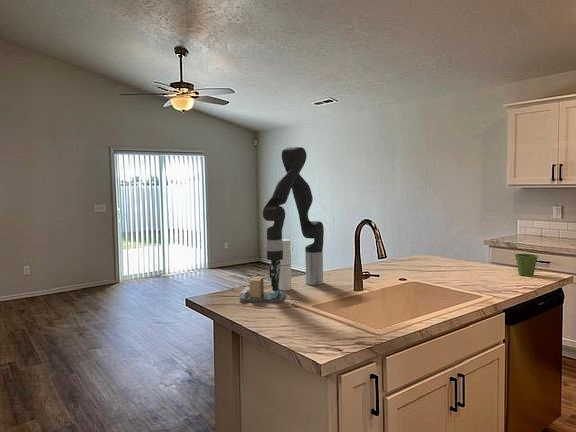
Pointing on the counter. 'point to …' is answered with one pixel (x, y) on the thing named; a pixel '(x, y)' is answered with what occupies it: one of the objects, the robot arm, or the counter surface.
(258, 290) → the block
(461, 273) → the counter surface
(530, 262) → the plant pot
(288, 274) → the cylindrical container
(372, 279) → the counter surface
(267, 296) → the vise
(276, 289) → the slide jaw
